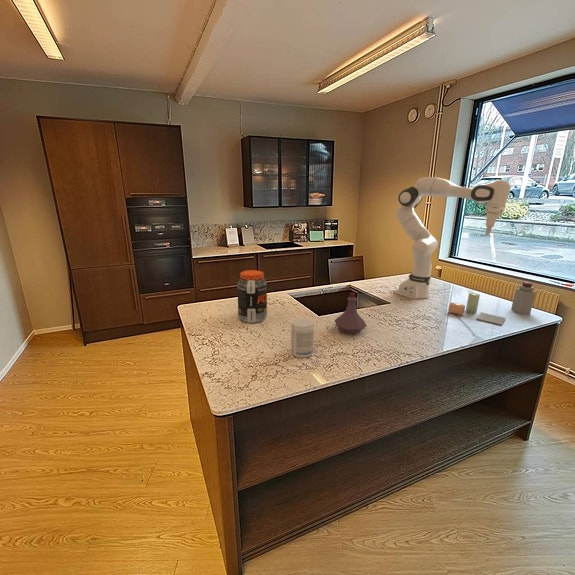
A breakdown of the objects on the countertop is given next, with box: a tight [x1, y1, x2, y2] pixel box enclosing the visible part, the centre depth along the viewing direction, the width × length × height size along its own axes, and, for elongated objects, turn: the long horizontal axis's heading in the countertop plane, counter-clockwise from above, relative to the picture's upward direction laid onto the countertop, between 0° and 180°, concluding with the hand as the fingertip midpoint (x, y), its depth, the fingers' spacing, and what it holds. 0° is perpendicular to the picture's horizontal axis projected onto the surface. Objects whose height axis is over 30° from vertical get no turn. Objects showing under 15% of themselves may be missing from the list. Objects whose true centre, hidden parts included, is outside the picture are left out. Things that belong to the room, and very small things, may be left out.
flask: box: [334, 292, 368, 335], centre depth 160 cm, size 16×16×20 cm
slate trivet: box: [475, 312, 506, 327], centre depth 179 cm, size 12×12×1 cm
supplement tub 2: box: [290, 317, 315, 358], centre depth 138 cm, size 10×10×15 cm
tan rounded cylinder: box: [448, 302, 466, 316], centre depth 186 cm, size 7×6×6 cm
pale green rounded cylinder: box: [465, 292, 481, 315], centre depth 188 cm, size 6×6×11 cm
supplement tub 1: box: [236, 269, 268, 324], centre depth 173 cm, size 16×16×26 cm
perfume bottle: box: [510, 281, 537, 315], centre depth 188 cm, size 7×7×18 cm
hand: (487, 235), depth 182 cm, fingers open, 8 cm apart
